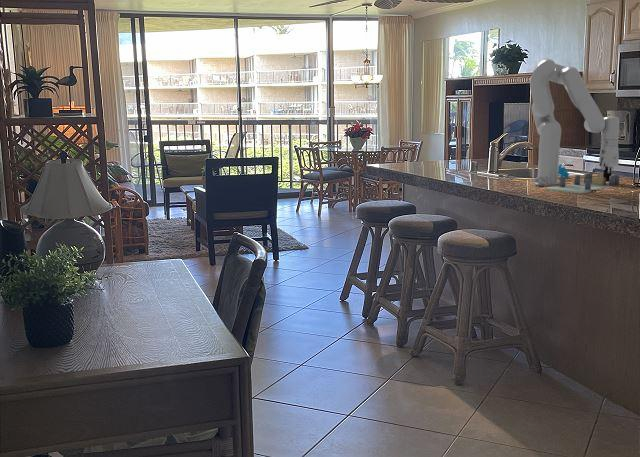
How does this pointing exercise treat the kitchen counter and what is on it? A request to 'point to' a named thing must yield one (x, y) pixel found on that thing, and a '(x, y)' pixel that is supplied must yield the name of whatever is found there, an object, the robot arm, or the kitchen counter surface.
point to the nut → (598, 181)
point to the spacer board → (583, 184)
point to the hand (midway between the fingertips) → (607, 181)
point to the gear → (563, 171)
